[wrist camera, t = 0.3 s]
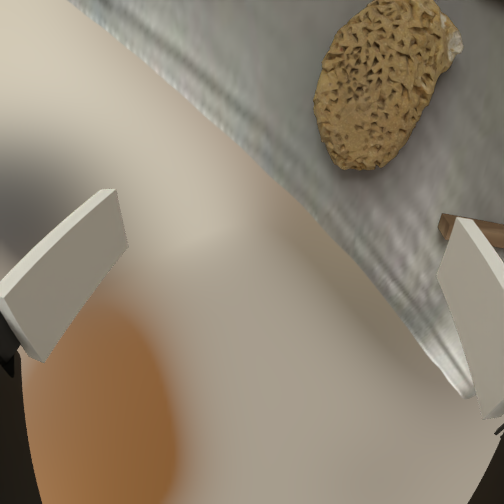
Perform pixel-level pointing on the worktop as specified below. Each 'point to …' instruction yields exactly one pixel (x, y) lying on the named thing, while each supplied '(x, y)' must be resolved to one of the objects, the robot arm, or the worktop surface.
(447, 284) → the robot arm
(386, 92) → the sponge
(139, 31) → the worktop surface
